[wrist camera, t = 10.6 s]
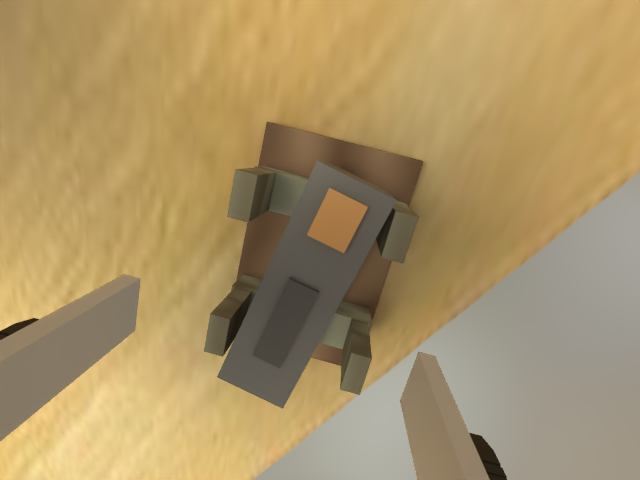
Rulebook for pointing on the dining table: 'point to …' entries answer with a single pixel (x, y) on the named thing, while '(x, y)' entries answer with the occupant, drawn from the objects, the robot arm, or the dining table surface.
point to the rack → (273, 217)
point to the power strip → (306, 281)
